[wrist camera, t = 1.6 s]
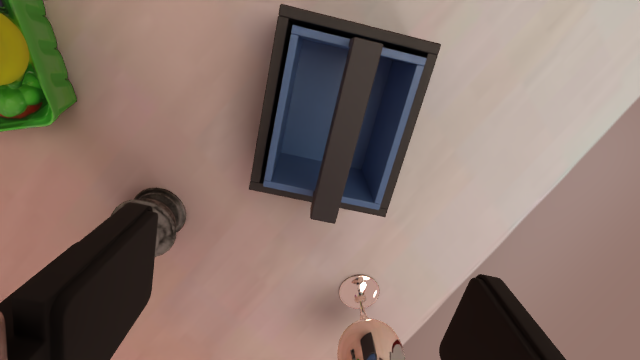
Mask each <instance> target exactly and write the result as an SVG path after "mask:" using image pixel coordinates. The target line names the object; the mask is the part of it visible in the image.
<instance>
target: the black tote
mask: <svg viewBox="0 0 640 360" xmlns="http://www.w3.org/2000/svg"><path fill="white" fill-rule="evenodd" d="M293 25H296V26H300V27H304V28H308V29H312V30H316V31H320V32H324V33H328V34H332V35H336V36H340V37H344V38H348V39H352V38H354V37H358V38H362V39H366V40H370V41H374V42H378V43H382V44H383V47H384V48H388V49H392V50H396V51H400V52H404V53H408V54H412V55H416V56H421V57H425V58H426V62H425V65H424V69H423V72H422V75H421V78H420V81H419V84H418V88H417V91H416V94H415V97H414V100H413V103H412V107H411V110H410V113H409V116H408V119H407V123H406V126H405V129H404V132H403V135H402V138H401V142H400V145H399V148H398V151H397V154H396V157H395V161H394V164H393V167H392V170H391V173H390V176H389V180H388V183H387V186H386V189H385V192H384V195H383V199H382V202H381V205H380V208H379V210H376V209H371V208H366V207H361V206H356V205H352V204H347V203H342V202H341V204H340V207H339V208H343V209H348V210H353V211H358V212H363V213H368V214H373V215H377V216H382V217H385V216H386V213H387V210H388V207H389V204H390V201H391V198H392V194H393V191H394V188H395V185H396V182H397V179H398V176H399V173H400V170H401V167H402V164H403V161H404V158H405V154H406V151H407V148H408V145H409V142H410V139H411V136H412V133H413V130H414V127H415V124H416V121H417V117H418V114H419V111H420V108H421V105H422V102H423V99H424V96H425V93H426V90H427V87H428V84H429V81H430V77H431V74H432V71H433V68H434V65H435V62H436V59H437V55H438V52H439V49H440V46H441V44H438V43H434V42H430V41H426V40H422V39H418V38H414V37H410V36H406V35H403V34H399V33H395V32H391V31H387V30H383V29H379V28H375V27H371V26H367V25H363V24H359V23H355V22H351V21H347V20H343V19H339V18H335V17H331V16H327V15H323V14H319V13H315V12H311V11H308V10H304V9H300V8H296V7H292V6H288V5H284V4H281V5H280V9H279V16H278V21H277V27H276V32H275V38H274V44H273V50H272V56H271V62H270V68H269V74H268V80H267V85H266V91H265V97H264V103H263V109H262V115H261V121H260V127H259V133H258V138H257V144H256V150H255V156H254V162H253V168H252V174H251V181H250V185H249V189H250V190H255V191H260V192H264V193H269V194H274V195H279V196H284V197H289V198H294V199H299V200H304V201H309V202H312V196H308V195H303V194H298V193H293V192H288V191H283V190H278V189H274V188H269V187H264V186H263V183H264V177H265V172H266V166H267V161H268V155H269V150H270V145H271V139H272V134H273V128H274V123H275V117H276V112H277V107H278V101H279V96H280V90H281V85H282V79H283V74H284V69H285V63H286V58H287V52H288V47H289V41H290V36H291V34H292V33H291V30H292V26H293Z"/></svg>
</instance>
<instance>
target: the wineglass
mask: <svg viewBox="0 0 640 360" xmlns="http://www.w3.org/2000/svg"><path fill="white" fill-rule="evenodd" d="M379 292H380V290H379V286H378V284H377V282H376V281H375V280H374V279H372V278H371V277H368V276H365V275H355V276H352V277H350V278H348V279H346V280H345V281H344V282H343V283H342V284H341V286H340V289H339V296H340V299H341V300H342V302H343V303H344V304H345V305H347V306H348V307H351V308H355V309H360V320H359V321H356V322H354V323H352V324H351V325H349V326H348V327H347V328H346V329H345V331H344V332H343V334H342V335H341V337H340V340H339V344H338V351H337V358H338V360H405V355H404V351H403V347H402V344H401V342H400V340H399V338H398V336H397V334H396V333H395V331H394V330H393V329H392V328H391V327H390V326H388V325H387V324H385V323H384V322H382V321H379V320H375V319H369V318H368V317H367V315H366V313H365V309H364V308H366V307H369V306H371V305H372V304H373V303H375V301H376V300H377V299H378V296H379Z"/></svg>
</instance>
